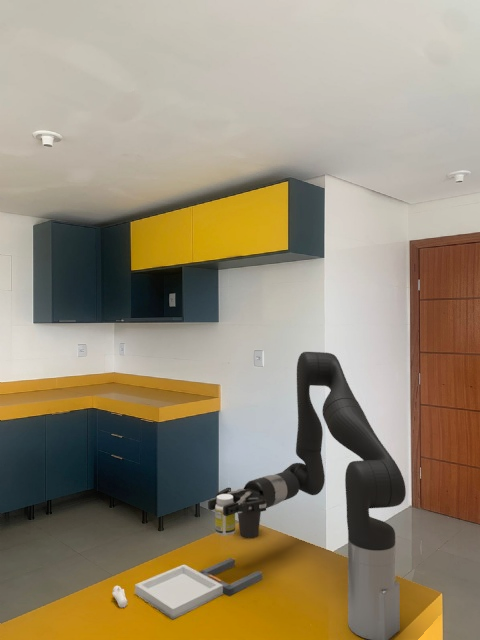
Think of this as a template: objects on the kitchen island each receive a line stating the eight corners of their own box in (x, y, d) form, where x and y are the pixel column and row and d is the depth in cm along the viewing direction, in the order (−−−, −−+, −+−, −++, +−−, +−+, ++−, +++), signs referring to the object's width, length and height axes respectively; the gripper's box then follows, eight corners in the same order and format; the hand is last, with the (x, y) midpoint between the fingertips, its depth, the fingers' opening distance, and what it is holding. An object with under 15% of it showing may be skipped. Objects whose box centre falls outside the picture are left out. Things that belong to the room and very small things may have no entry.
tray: (222, 594, 114) (222, 585, 114) (172, 619, 104) (172, 609, 104) (184, 572, 124) (184, 564, 124) (135, 593, 114) (135, 584, 114)
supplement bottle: (236, 528, 122) (236, 493, 122) (234, 536, 118) (233, 500, 118) (216, 527, 123) (216, 492, 123) (213, 535, 118) (213, 499, 118)
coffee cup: (250, 526, 152) (250, 493, 153) (268, 535, 146) (268, 500, 146) (229, 533, 147) (229, 499, 147) (247, 542, 141) (247, 507, 141)
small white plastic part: (109, 611, 107) (109, 596, 107) (113, 596, 113) (113, 582, 113) (126, 610, 107) (126, 595, 107) (129, 595, 113) (129, 581, 113)
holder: (262, 579, 121) (262, 571, 121) (229, 596, 113) (229, 587, 113) (230, 563, 128) (230, 556, 128) (197, 578, 121) (197, 570, 121)
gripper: (246, 471, 135) (197, 485, 124) (286, 483, 125) (237, 500, 113) (246, 499, 135) (197, 516, 123) (287, 513, 125) (237, 533, 113)
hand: (216, 508), depth 118 cm, fingers closed on supplement bottle, 4 cm apart
